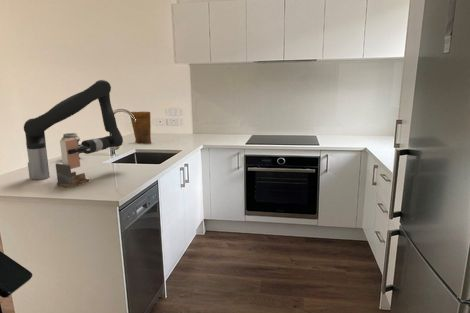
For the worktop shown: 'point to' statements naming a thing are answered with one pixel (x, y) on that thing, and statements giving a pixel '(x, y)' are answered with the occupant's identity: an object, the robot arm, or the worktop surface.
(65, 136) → the dark grey pedestal urn
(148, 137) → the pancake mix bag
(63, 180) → the rack
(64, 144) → the salmon pink rectangular block
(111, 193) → the worktop surface
